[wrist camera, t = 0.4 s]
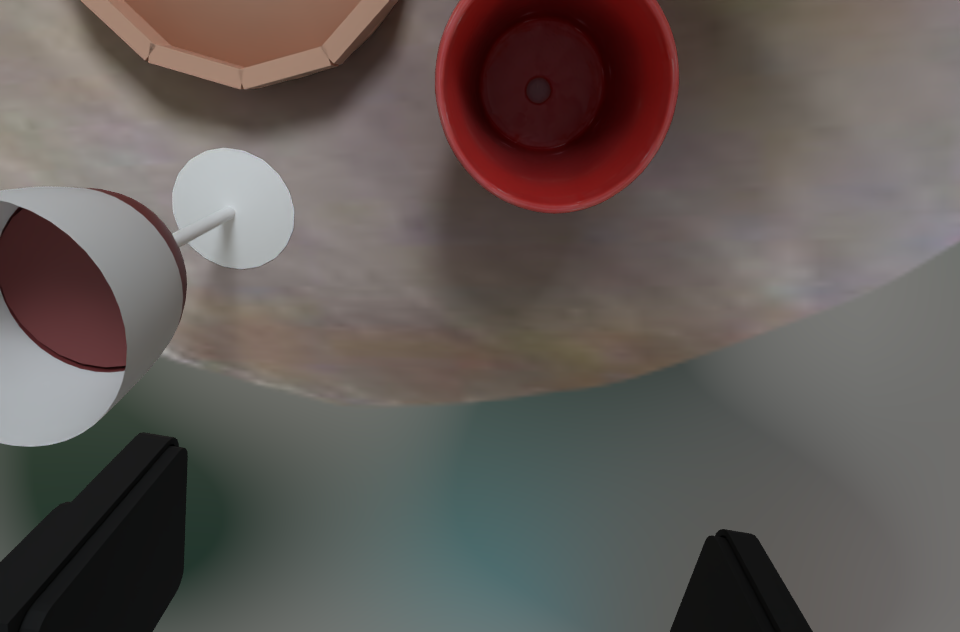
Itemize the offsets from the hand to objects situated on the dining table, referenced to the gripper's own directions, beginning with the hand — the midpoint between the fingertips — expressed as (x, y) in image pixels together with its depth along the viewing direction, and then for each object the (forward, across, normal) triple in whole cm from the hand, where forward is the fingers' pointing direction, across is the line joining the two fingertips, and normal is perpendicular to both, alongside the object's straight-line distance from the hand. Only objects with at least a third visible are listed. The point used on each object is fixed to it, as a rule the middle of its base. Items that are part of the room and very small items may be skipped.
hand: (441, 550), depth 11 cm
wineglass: (+30, +15, +3) cm, 33 cm away
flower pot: (+30, -2, -8) cm, 31 cm away
